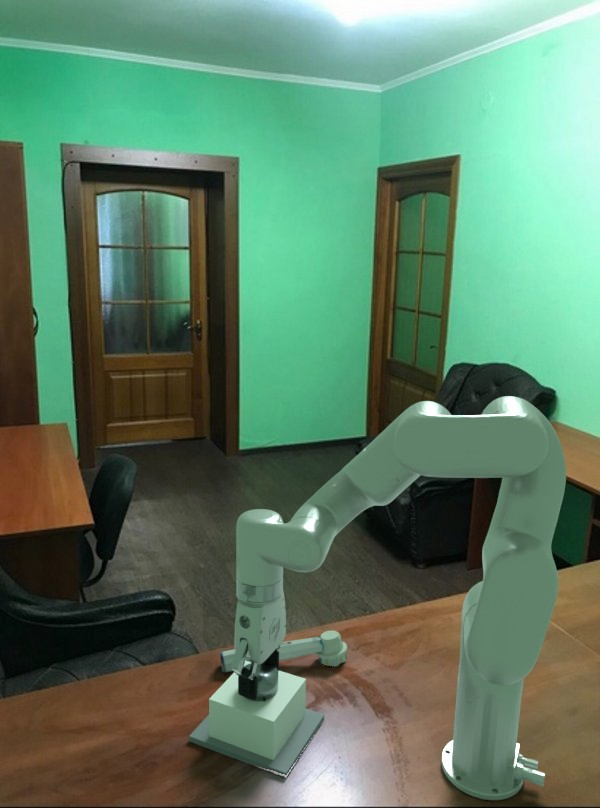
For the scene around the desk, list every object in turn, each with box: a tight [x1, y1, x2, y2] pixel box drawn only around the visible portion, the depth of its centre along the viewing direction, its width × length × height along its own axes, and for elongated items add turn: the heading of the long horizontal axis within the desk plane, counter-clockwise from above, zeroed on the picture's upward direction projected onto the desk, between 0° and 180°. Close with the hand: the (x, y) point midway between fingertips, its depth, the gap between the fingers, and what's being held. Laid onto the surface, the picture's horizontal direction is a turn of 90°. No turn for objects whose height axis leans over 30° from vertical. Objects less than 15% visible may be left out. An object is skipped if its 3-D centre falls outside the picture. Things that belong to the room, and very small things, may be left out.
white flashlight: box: [219, 630, 348, 674], centre depth 130 cm, size 5×7×25 cm
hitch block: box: [188, 660, 325, 775], centre depth 111 cm, size 18×15×8 cm
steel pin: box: [244, 662, 278, 702], centre depth 111 cm, size 6×6×9 cm
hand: (259, 682), depth 110 cm, fingers open, 7 cm apart
